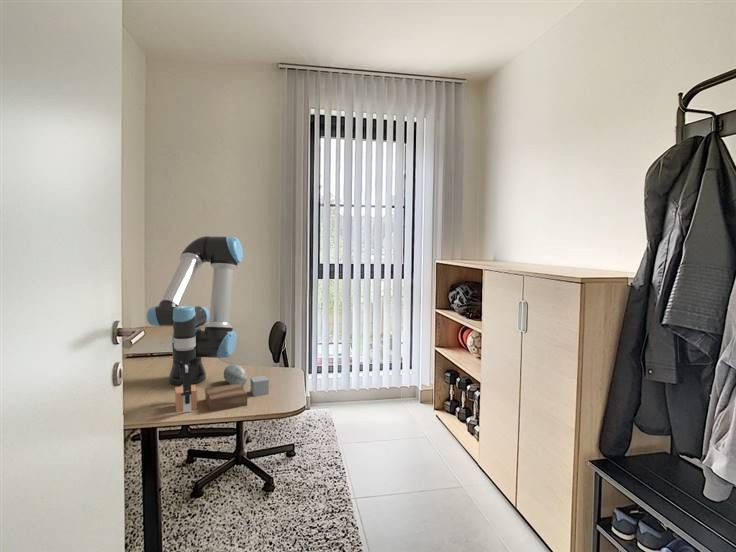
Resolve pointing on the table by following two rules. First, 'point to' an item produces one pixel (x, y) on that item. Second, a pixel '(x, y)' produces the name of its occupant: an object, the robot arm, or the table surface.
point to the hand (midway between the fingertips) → (186, 406)
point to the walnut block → (225, 397)
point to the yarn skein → (235, 374)
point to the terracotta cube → (180, 398)
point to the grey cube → (259, 385)
